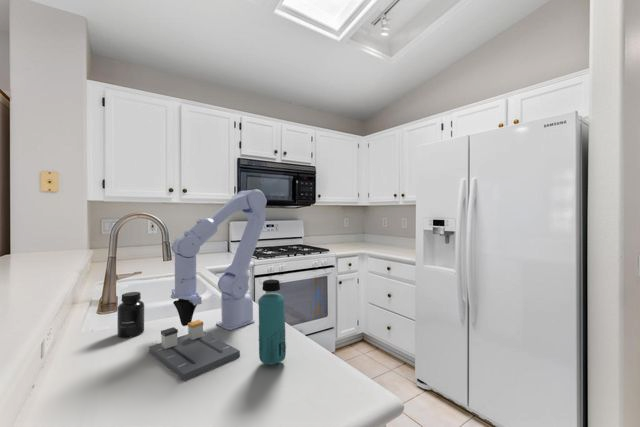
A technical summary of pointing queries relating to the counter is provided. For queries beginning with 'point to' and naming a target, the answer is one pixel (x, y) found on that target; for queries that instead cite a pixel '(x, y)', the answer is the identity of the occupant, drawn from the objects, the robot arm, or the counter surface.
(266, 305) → the beverage bottle
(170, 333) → the fader black
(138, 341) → the counter surface
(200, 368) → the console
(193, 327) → the fader orange
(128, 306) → the supplement bottle
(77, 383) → the counter surface
